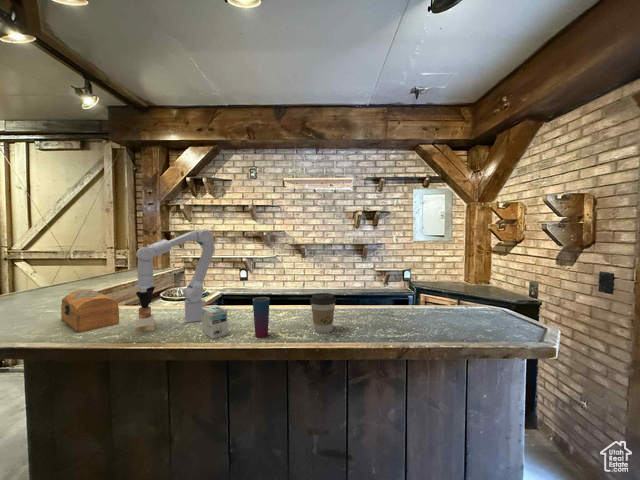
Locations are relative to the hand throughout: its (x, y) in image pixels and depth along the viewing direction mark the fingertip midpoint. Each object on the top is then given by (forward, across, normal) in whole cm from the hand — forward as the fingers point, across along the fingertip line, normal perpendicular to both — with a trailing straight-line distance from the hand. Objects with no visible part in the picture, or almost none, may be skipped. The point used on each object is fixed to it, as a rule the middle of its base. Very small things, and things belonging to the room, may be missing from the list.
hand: (146, 305), depth 118 cm
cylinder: (+5, 0, -1) cm, 5 cm away
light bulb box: (+11, +19, +26) cm, 34 cm away
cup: (+11, +30, +43) cm, 54 cm away
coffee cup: (+11, +36, +68) cm, 78 cm away
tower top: (+8, +1, -1) cm, 8 cm away
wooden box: (+11, -24, -27) cm, 38 cm away
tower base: (+11, 0, 0) cm, 11 cm away
